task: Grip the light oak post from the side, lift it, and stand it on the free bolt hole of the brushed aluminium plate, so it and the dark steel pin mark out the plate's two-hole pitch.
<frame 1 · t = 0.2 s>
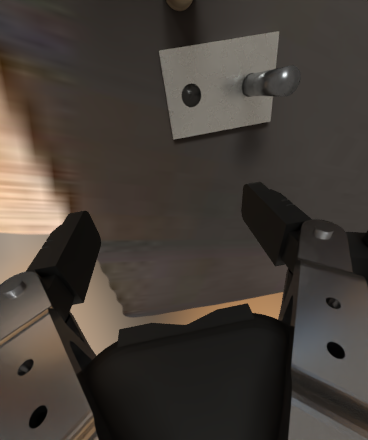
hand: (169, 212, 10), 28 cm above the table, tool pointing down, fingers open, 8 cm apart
bolt plate: (219, 90, 32), on the table
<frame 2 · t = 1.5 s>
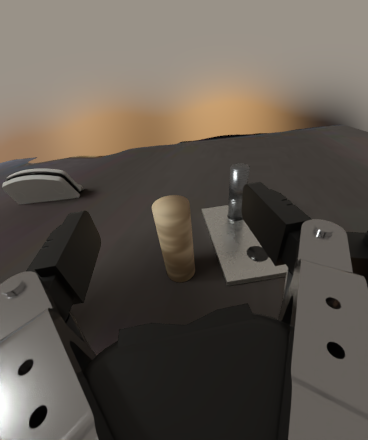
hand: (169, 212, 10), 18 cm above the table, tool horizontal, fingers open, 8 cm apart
oak post: (180, 270, 30), on the table
bolt plate: (244, 236, 34), on the table
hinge: (51, 200, 53), on the table
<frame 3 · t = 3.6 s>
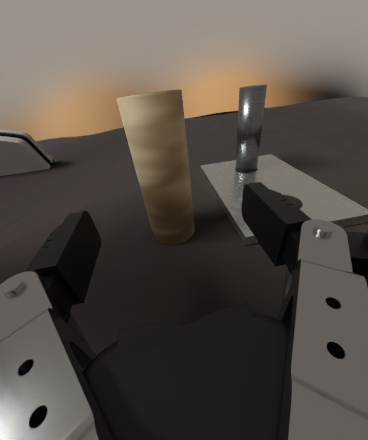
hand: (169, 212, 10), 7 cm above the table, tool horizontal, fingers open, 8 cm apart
oak post: (173, 230, 20), on the table
bolt plate: (261, 189, 25), on the table
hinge: (15, 173, 43), on the table
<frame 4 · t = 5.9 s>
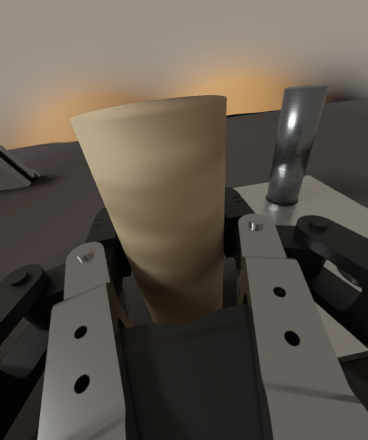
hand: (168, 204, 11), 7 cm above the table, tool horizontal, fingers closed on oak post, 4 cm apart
oak post: (188, 314, 13), on the table, touching gripper
bolt plate: (310, 234, 17), on the table
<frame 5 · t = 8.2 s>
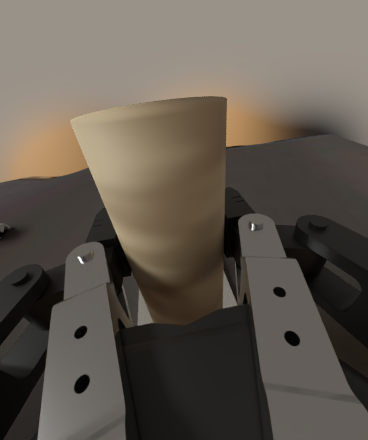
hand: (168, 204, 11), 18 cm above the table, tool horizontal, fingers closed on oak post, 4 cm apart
oak post: (188, 315, 13), point 11 cm above the table, touching gripper
bolt plate: (189, 318, 23), on the table
when the fingers open (9 cm above the table, at t = 10.5 s): oak post drops 1 cm, resting on bolt plate.
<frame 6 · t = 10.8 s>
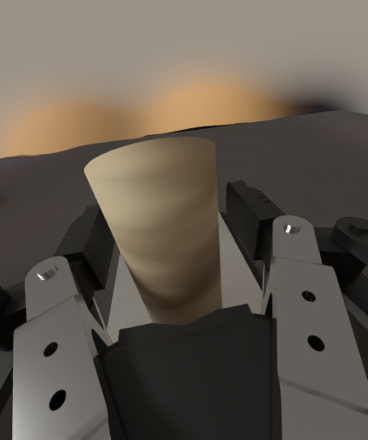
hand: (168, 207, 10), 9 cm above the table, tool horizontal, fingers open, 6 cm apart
oak post: (191, 326, 13), point 1 cm above the table, touching bolt plate
bolt plate: (182, 277, 18), on the table
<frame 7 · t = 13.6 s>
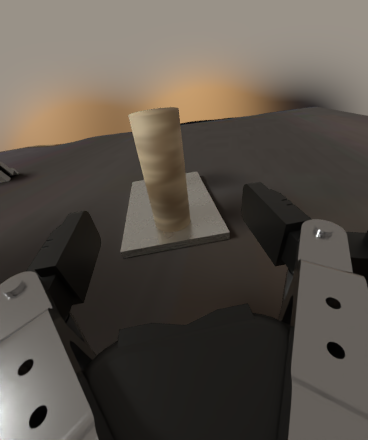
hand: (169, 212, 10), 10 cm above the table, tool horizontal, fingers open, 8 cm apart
oak post: (172, 220, 24), point 1 cm above the table, touching bolt plate
bolt plate: (170, 206, 29), on the table
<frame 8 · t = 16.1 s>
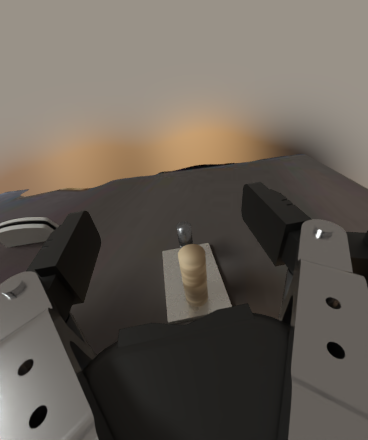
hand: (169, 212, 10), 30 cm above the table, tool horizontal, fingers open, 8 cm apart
oak post: (196, 296, 38), point 1 cm above the table, touching bolt plate
bolt plate: (192, 278, 42), on the table
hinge: (36, 241, 60), on the table
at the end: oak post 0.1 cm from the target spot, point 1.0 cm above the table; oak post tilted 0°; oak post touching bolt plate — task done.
